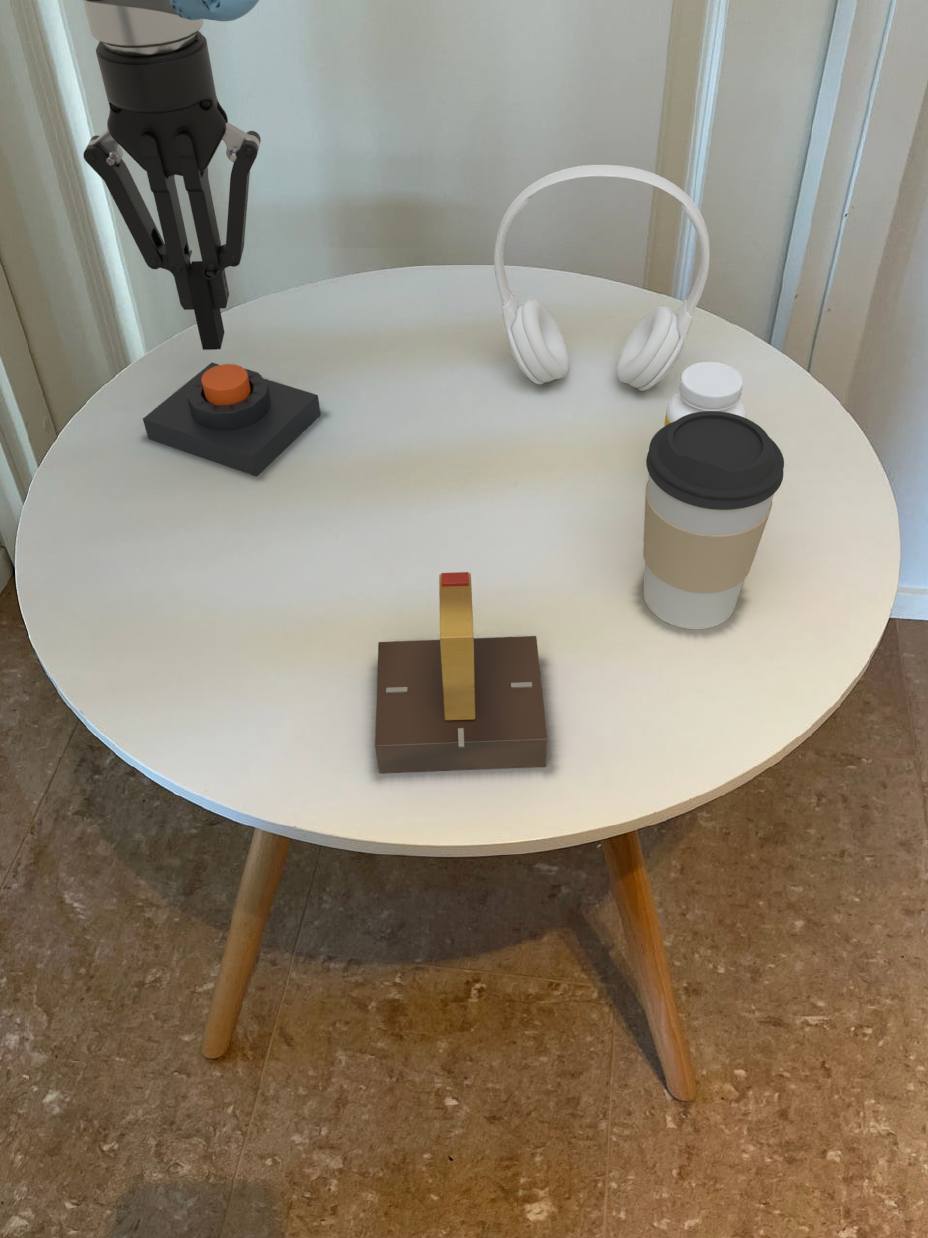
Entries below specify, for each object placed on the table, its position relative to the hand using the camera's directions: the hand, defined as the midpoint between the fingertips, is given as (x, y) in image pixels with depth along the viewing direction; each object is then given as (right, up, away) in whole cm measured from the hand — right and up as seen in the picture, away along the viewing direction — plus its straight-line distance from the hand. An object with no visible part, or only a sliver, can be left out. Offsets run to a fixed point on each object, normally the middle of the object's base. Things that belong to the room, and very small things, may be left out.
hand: (213, 340), depth 89 cm
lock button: (0, -4, +4) cm, 6 cm away
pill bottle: (+40, -13, -1) cm, 42 cm away
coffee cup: (+38, -22, -9) cm, 45 cm away
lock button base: (0, -6, +7) cm, 9 cm away
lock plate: (+21, -30, -17) cm, 40 cm away
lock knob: (+21, -28, -19) cm, 40 cm away
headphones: (+33, -1, +11) cm, 35 cm away
